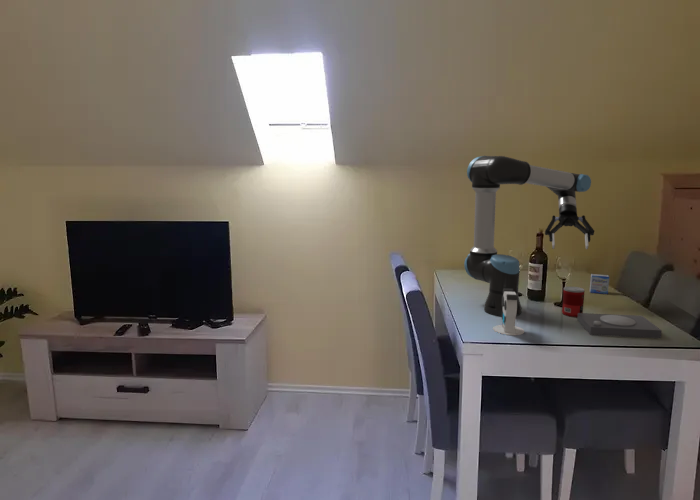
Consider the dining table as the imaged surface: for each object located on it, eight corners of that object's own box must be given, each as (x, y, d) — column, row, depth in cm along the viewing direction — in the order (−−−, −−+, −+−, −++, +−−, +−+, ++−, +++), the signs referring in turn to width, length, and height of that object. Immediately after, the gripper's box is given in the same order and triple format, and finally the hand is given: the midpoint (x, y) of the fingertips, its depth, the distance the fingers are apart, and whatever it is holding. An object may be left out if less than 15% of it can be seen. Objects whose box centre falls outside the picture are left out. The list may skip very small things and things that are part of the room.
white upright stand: (491, 324, 205) (492, 287, 202) (521, 325, 203) (523, 288, 201) (494, 334, 193) (496, 295, 191) (526, 336, 192) (529, 296, 189)
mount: (590, 334, 193) (591, 323, 192) (577, 320, 210) (578, 310, 210) (660, 338, 189) (661, 327, 189) (641, 323, 207) (642, 312, 206)
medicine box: (589, 292, 253) (591, 275, 252) (589, 290, 257) (590, 273, 256) (608, 294, 250) (609, 276, 249) (607, 292, 254) (608, 274, 253)
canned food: (584, 317, 214) (586, 291, 212) (563, 316, 215) (565, 290, 213) (580, 312, 221) (582, 287, 219) (560, 311, 223) (562, 286, 221)
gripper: (596, 213, 240) (600, 252, 229) (538, 213, 247) (539, 251, 236) (598, 203, 234) (602, 242, 223) (539, 203, 241) (540, 242, 230)
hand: (570, 247), depth 230 cm, fingers open, 13 cm apart
